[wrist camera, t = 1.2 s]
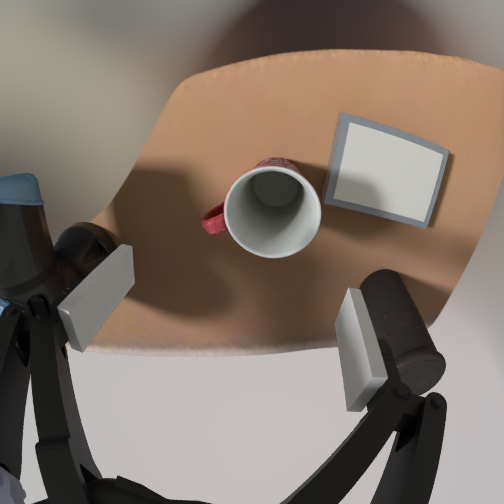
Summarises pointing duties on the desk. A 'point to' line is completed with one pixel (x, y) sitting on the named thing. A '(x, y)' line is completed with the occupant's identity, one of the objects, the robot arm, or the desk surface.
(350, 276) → the desk surface
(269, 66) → the desk surface
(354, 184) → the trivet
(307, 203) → the mug
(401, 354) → the container
